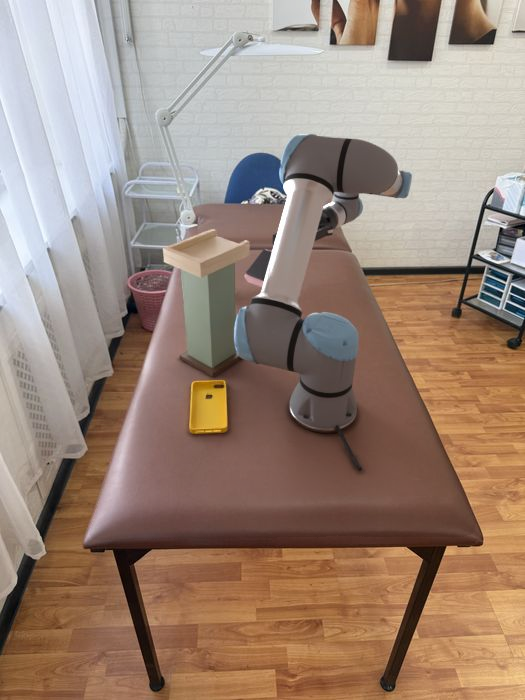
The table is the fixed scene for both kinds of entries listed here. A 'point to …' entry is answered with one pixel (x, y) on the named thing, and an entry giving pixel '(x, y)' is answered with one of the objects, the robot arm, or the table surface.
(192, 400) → the phone case
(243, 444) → the table surface
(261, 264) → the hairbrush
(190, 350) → the stand
